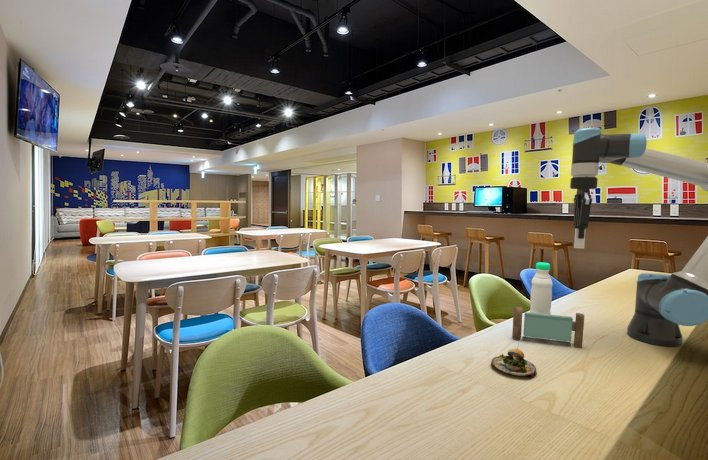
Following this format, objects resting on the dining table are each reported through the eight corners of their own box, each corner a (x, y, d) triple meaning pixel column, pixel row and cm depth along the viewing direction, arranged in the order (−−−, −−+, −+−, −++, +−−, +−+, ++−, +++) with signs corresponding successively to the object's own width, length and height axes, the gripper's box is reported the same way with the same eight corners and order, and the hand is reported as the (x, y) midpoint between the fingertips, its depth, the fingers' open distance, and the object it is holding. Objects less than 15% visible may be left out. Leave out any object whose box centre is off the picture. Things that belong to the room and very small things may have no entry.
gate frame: (579, 343, 124) (581, 311, 123) (582, 348, 120) (584, 315, 119) (511, 335, 131) (513, 305, 130) (512, 339, 127) (514, 308, 126)
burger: (482, 364, 108) (483, 340, 107) (512, 358, 113) (513, 334, 112) (514, 384, 97) (516, 356, 96) (546, 376, 102) (548, 350, 101)
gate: (524, 336, 126) (525, 313, 125) (523, 334, 128) (524, 312, 127) (571, 342, 122) (572, 318, 121) (569, 340, 123) (571, 316, 122)
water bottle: (552, 332, 134) (556, 265, 131) (531, 331, 135) (535, 264, 133) (546, 326, 141) (550, 261, 138) (526, 324, 142) (530, 260, 140)
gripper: (603, 175, 113) (598, 251, 115) (591, 177, 125) (586, 246, 128) (575, 175, 116) (570, 250, 118) (566, 177, 128) (562, 245, 130)
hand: (579, 248), depth 123 cm, fingers closed
